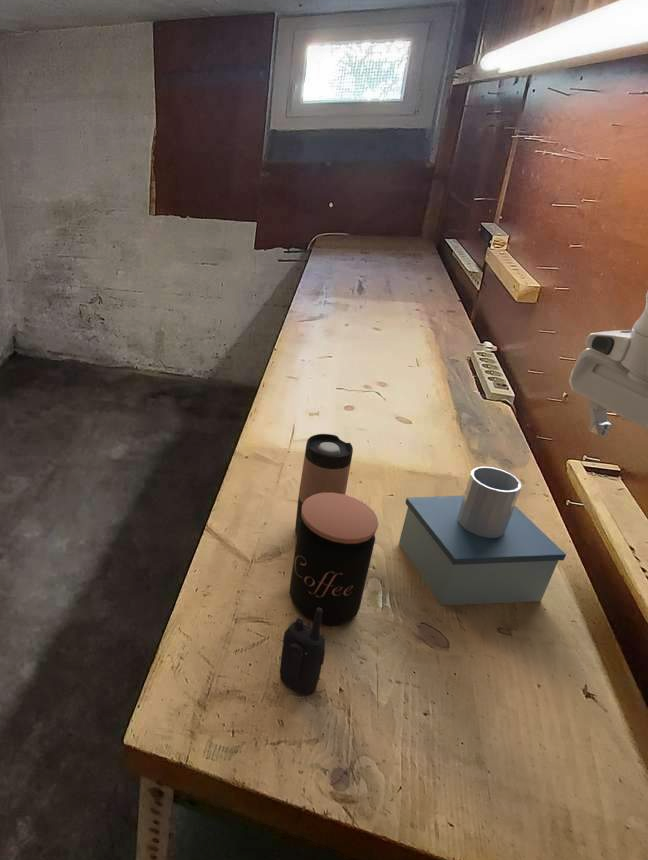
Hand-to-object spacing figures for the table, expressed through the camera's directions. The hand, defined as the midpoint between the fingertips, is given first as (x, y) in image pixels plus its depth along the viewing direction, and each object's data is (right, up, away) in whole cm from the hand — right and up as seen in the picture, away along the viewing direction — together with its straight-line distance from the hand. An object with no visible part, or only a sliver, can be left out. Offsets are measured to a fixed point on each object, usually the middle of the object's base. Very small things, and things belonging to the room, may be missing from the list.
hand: (628, 450), depth 75 cm
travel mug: (-32, -19, +29) cm, 47 cm away
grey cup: (-10, -14, +15) cm, 23 cm away
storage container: (-9, -23, +20) cm, 32 cm away
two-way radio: (-44, -33, +2) cm, 55 cm away
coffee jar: (-36, -26, +15) cm, 47 cm away
